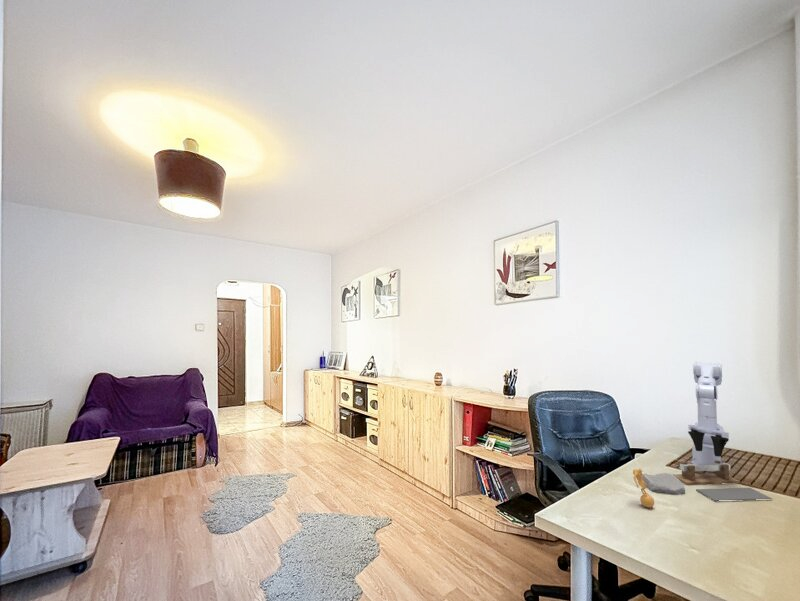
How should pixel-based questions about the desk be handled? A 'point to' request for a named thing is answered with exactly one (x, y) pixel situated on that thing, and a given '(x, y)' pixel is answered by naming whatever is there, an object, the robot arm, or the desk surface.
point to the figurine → (645, 498)
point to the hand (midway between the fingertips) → (708, 453)
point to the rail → (703, 466)
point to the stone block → (664, 483)
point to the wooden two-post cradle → (705, 476)
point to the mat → (732, 494)
